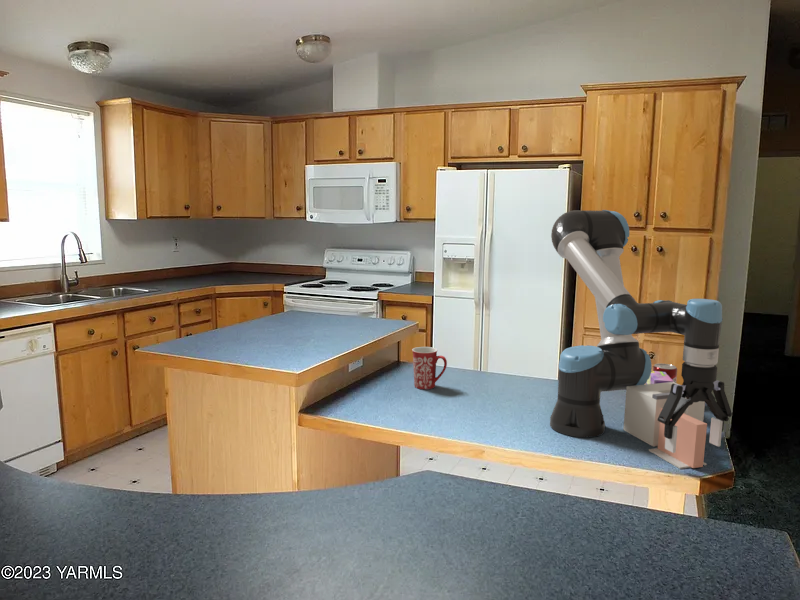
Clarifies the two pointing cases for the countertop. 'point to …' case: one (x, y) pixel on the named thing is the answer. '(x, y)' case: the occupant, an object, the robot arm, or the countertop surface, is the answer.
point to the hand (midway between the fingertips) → (692, 447)
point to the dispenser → (651, 410)
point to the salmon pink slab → (687, 441)
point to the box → (658, 377)
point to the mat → (670, 458)
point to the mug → (426, 367)
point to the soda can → (667, 370)
